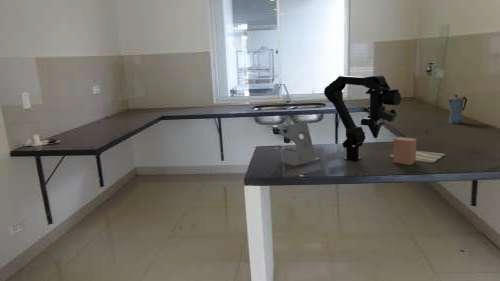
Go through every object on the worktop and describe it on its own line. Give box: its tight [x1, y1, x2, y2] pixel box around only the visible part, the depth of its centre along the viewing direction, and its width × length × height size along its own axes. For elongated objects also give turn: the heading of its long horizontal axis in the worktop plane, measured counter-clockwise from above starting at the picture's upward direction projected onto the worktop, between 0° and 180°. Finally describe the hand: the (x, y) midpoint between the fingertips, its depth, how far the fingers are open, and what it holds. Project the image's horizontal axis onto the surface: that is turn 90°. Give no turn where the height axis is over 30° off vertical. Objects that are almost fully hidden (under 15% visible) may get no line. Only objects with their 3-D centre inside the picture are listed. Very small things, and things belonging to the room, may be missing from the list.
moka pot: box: [447, 94, 468, 124], centre depth 264 cm, size 10×15×20 cm, turn 107°
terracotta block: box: [392, 136, 418, 166], centre depth 171 cm, size 6×8×11 cm
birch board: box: [388, 150, 446, 164], centre depth 181 cm, size 18×20×1 cm
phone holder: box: [280, 122, 320, 167], centre depth 181 cm, size 17×10×18 cm, turn 123°
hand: (375, 138), depth 170 cm, fingers closed
